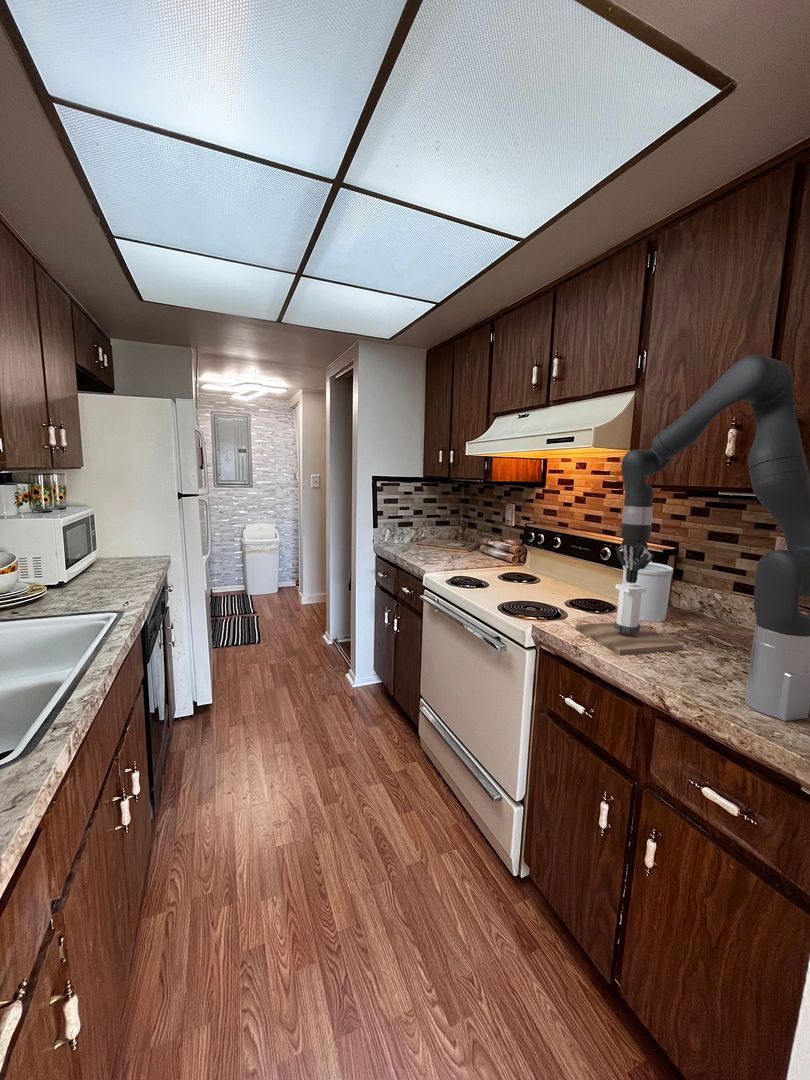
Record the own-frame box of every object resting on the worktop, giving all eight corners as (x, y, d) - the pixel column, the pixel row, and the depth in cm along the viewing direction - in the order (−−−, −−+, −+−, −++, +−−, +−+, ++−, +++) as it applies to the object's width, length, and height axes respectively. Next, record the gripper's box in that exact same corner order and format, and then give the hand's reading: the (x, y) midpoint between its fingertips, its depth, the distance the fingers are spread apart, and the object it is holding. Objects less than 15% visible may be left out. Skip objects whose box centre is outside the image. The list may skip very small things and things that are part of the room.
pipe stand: (682, 649, 123) (688, 600, 121) (619, 655, 118) (623, 604, 116) (631, 625, 142) (635, 582, 140) (575, 629, 138) (578, 585, 136)
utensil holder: (673, 625, 143) (679, 571, 141) (623, 620, 147) (627, 568, 144) (661, 611, 157) (666, 563, 155) (615, 607, 161) (619, 560, 159)
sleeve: (642, 626, 127) (646, 588, 126) (625, 627, 126) (629, 589, 125) (628, 620, 133) (632, 583, 131) (612, 621, 132) (615, 584, 130)
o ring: (644, 632, 127) (644, 626, 127) (624, 633, 126) (625, 628, 126) (628, 624, 134) (629, 619, 133) (609, 626, 132) (610, 620, 132)
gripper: (666, 524, 120) (659, 587, 122) (631, 519, 132) (626, 576, 135) (642, 525, 118) (636, 588, 120) (609, 520, 131) (604, 577, 133)
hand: (631, 582), depth 128 cm, fingers closed
